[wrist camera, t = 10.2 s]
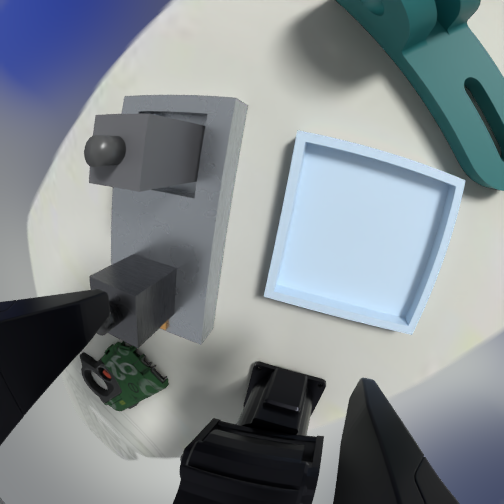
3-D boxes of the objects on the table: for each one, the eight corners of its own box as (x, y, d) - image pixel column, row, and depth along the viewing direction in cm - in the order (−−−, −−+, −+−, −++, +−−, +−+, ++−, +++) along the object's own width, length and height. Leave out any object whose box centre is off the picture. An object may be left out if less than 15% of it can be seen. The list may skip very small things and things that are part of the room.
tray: (407, 322, 19) (411, 334, 18) (269, 286, 21) (263, 296, 20) (455, 178, 15) (465, 180, 14) (300, 133, 18) (297, 130, 16)
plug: (199, 181, 20) (118, 196, 12) (154, 173, 21) (69, 186, 13) (207, 126, 19) (128, 110, 11) (161, 123, 19) (75, 113, 12)
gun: (105, 319, 27) (170, 389, 27) (114, 313, 28) (176, 381, 28) (70, 366, 33) (116, 416, 34) (76, 361, 35) (121, 410, 35)
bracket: (332, -1, 14) (324, -67, 6) (395, -27, 11) (408, -85, 4) (475, 203, 15) (537, 227, 8) (528, 164, 13) (592, 172, 5)
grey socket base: (213, 328, 24) (158, 398, 16) (129, 296, 26) (63, 343, 18) (248, 105, 18) (182, 67, 10) (143, 100, 20) (57, 85, 11)
